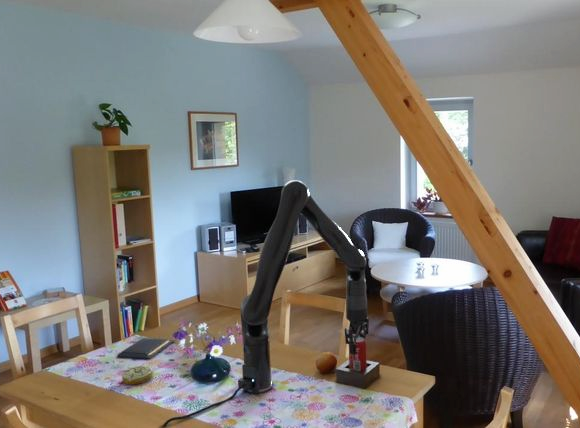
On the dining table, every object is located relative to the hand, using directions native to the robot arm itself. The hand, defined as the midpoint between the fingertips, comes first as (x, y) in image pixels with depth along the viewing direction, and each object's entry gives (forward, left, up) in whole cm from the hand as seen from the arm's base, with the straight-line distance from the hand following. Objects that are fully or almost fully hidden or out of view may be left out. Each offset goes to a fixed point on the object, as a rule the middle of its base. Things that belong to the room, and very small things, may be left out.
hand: (357, 350), depth 204 cm
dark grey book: (-15, +93, -11) cm, 95 cm away
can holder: (0, 0, -11) cm, 11 cm away
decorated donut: (-37, +72, -11) cm, 82 cm away
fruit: (+1, +14, -11) cm, 18 cm away
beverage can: (0, 0, -8) cm, 8 cm away
